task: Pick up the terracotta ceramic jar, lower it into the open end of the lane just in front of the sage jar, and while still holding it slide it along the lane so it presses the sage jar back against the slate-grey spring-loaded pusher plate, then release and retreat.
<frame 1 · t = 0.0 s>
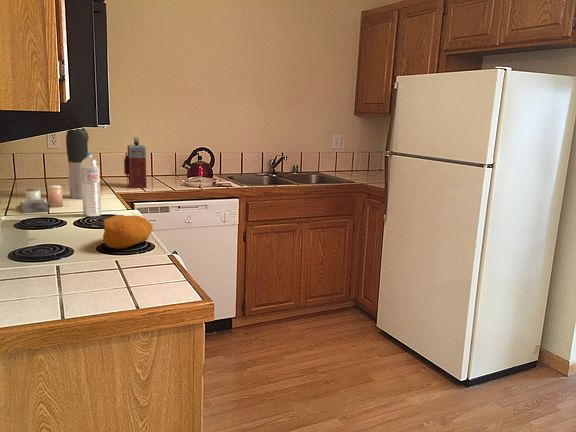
pusher plate: (34, 204, 204), point 2 cm above the countertop, slide at 0.0 cm
sage jar: (34, 209, 207), resting in lane
terracotta jar: (56, 206, 215), on the countertop
red grey square bottle: (135, 187, 280), on the countertop
bread: (130, 243, 158), on the countertop
water bottle: (92, 215, 199), on the countertop
lane: (33, 208, 209), on the countertop
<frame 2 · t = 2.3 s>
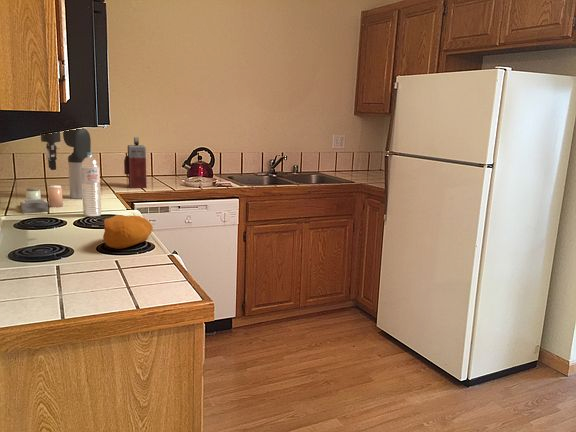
hand: (52, 168, 212), 16 cm above the countertop, fingers open, 8 cm apart
nothing on the countertop moved.
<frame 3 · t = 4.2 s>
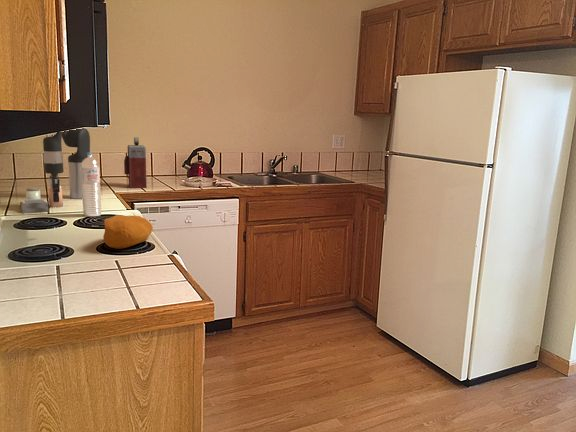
hand: (55, 200, 215), 3 cm above the countertop, fingers closed on terracotta jar, 5 cm apart
terracotta jar: (56, 206, 215), on the countertop, touching gripper
everything else where it was.
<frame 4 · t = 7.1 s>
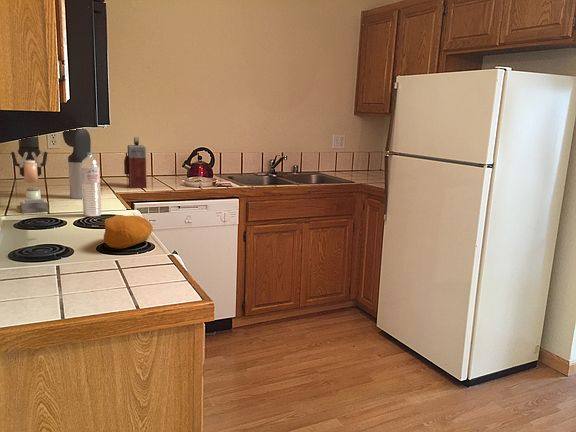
hand: (30, 175, 210), 13 cm above the countertop, fingers closed on terracotta jar, 5 cm apart
terracotta jar: (31, 181, 211), point 11 cm above the countertop, touching gripper
everything else where it was.
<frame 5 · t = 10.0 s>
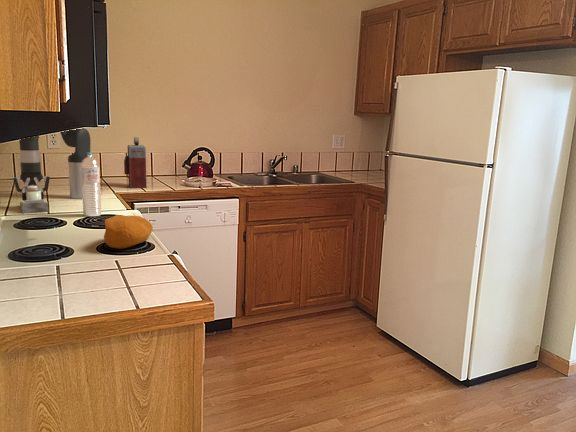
hand: (33, 200, 210), 3 cm above the countertop, fingers closed on terracotta jar, 5 cm apart
pusher plate: (34, 205, 203), point 2 cm above the countertop, slide at 1.4 cm, touching sage jar
sage jar: (34, 209, 206), resting in lane, touching pusher plate, terracotta jar
terracotta jar: (33, 206, 211), resting in lane, touching gripper, sage jar
everything else where it was.
when the fingers open (3 cm above the countertop, at t = 10.3 s): terracotta jar stays where it is, resting in lane.
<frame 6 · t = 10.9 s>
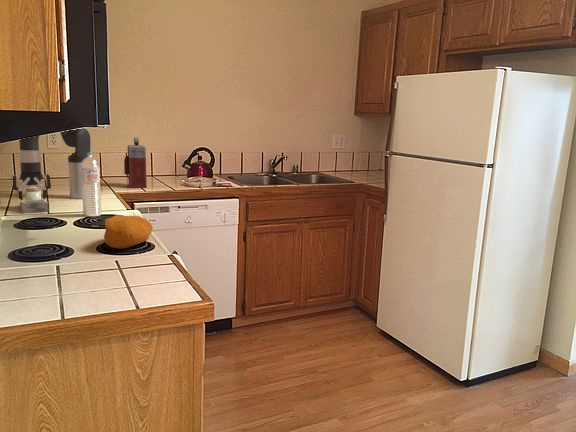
hand: (32, 199, 210), 4 cm above the countertop, fingers open, 8 cm apart
pusher plate: (34, 205, 203), point 2 cm above the countertop, slide at 1.4 cm
sage jar: (34, 210, 206), resting in lane
terracotta jar: (33, 207, 211), resting in lane
everything else where it was.
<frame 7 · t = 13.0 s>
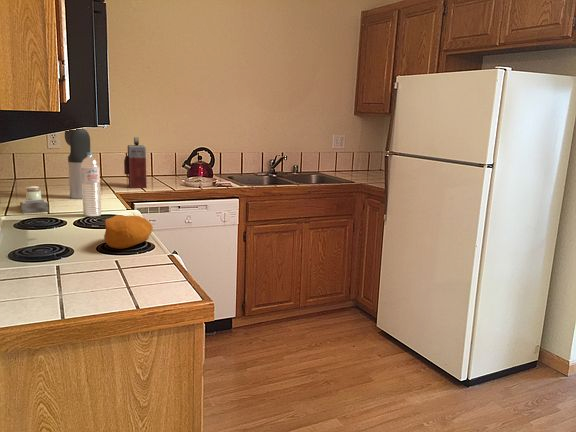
hand: (10, 139, 217), 28 cm above the countertop, fingers open, 8 cm apart
nothing on the countertop moved.
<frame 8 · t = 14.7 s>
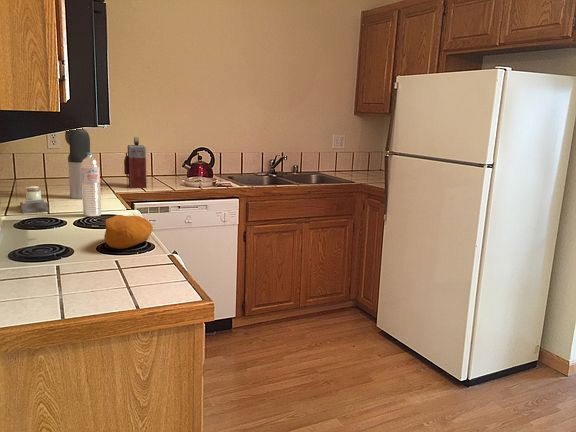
hand: (6, 133, 219), 30 cm above the countertop, fingers open, 8 cm apart
nothing on the countertop moved.
at the end: terracotta jar 0.1 cm from the target spot on the lane, point 0.0 cm above the lane's base; terracotta jar 5.4 cm from the sage jar (horizontally); terracotta jar tilted 0° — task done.
